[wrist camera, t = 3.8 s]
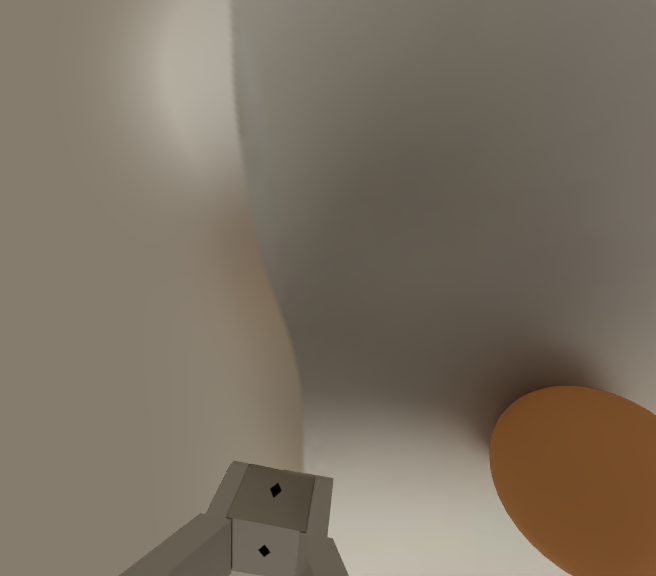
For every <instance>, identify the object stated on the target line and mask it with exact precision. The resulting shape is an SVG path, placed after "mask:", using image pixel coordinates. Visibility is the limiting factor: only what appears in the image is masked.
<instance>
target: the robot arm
mask: <svg viewBox="0 0 656 576" xmlns="http://www.w3.org/2000/svg"><path fill="white" fill-rule="evenodd" d="M332 488H333V478H329V477H323V476H318V475H313V474H307V473H300V472H294V471H288V470H278V469H273V468H269V467H264V466H259V465H254V464H248V463H243V462H238V461H233V462H232V464H231V465H230V466H229V468H228V470H227V473H226V474H225V476H224V478H223V480H222V482H221V484H220V486H219V488H218V490H217V492H216V494H215V496H214V498H213V500H212V502H211V504H210V507H209V508H208V510H207V512H206V514H199V515H198V516H196V517H195V518H194V519H192V520H191V521H190V522H188V523H187V524H186V525H184V526H183V527H182V528H180V529H179V530H178V531H177V532H175V533H174V534H173V535H171V536H170V537H169V538H167V539H166V540H165V541H163V542H162V543H161V544H160V545H158V546H157V547H156V548H154V549H153V550H152V551H150V552H149V553H148V554H146V555H145V556H144V557H143V558H141V559H140V560H139V561H138V562H136V563H135V564H133V565H132V566H131V567H129V568H128V569H127V570H126V571H124V572H123V573H122V574H120V575H119V576H229V575H230V574H231V570H232V571H238V572H244V573H251V574H256V575H262V576H349V575H348V573H347V570H346V568H345V566H344V563H343V561H342V559H341V556H340V554H339V552H338V550H337V547H336V545H335V543H334V540H333V538H329V537H327V534H328V525H329V516H330V507H331V497H332Z"/></svg>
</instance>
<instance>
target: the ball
mask: <svg viewBox="0 0 656 576" xmlns="http://www.w3.org/2000/svg"><path fill="white" fill-rule="evenodd" d="M489 456H490V468H491V474H492V478H493V482H494V485H495V488H496V491H497V493H498V496H499V498H500V500H501V502H502V504H503V506H504V508H505V510H506V512H507V513H508V515H509V516H510V518H511V519H512V521H513V522H514V523H515V525H516V526H517V528H518V529H519V530H520V532H521V533H522V534H523V535H524V536H525V537H526V538H527V540H528V541H529V542H530V543H531V544H532V545H533V546H534V547H535V548H536V549H537V550H538V551H540V552H541V553H542V554H543V555H544V556H545V557H546V558H548V559H549V560H550V561H551V562H553V563H554V564H556V565H557V566H558V567H560V568H561V569H562V570H564V571H565V572H567V573H569V574H571V575H572V576H656V415H654V414H653V413H651V412H650V411H648V410H647V409H645V408H643V407H641V406H639V405H637V404H636V403H634V402H631V401H629V400H627V399H625V398H623V397H620V396H617V395H615V394H612V393H609V392H606V391H602V390H598V389H593V388H588V387H581V386H553V387H547V388H542V389H539V390H536V391H533V392H530V393H528V394H526V395H524V396H522V397H520V398H519V399H517V400H516V401H515V402H513V403H512V404H511V405H510V406H509V407H508V408H507V409H506V410H505V411H504V412H503V413H502V415H501V416H500V418H499V419H498V421H497V423H496V425H495V428H494V430H493V433H492V437H491V442H490V452H489Z"/></svg>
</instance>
